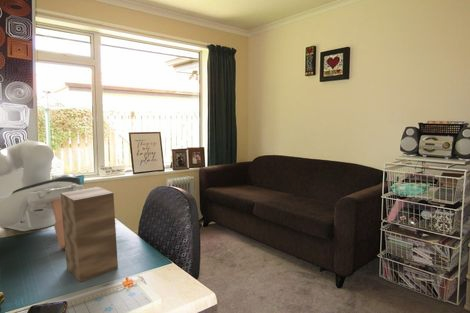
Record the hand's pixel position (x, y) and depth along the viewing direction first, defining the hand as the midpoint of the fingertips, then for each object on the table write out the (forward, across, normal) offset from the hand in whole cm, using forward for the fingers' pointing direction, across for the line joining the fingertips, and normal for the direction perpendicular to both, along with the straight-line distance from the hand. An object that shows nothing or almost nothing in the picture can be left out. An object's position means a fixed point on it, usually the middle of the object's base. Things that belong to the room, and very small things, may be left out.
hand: (61, 188), depth 118 cm
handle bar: (-11, 0, -11) cm, 15 cm away
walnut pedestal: (+10, 0, -32) cm, 34 cm away
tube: (-48, -19, 0) cm, 51 cm away
